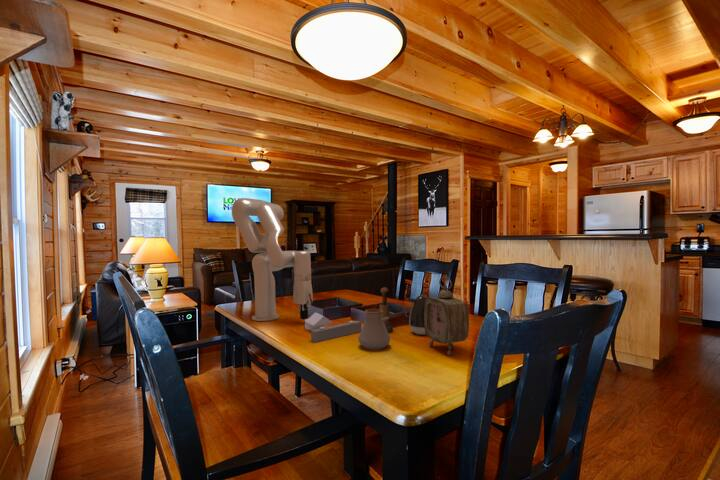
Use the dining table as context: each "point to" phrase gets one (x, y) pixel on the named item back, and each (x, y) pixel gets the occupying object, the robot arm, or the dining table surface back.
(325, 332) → the bar
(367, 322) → the coffee pot
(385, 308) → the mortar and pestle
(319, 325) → the wedge on round base
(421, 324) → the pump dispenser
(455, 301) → the tabletop clock
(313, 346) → the dining table surface
